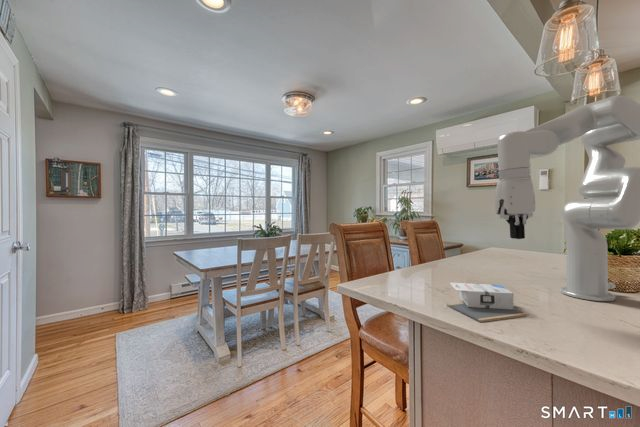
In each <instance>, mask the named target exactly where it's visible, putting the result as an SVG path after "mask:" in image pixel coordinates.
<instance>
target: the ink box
mask: <svg viewBox="0 0 640 427" xmlns="http://www.w3.org/2000/svg"><path fill="white" fill-rule="evenodd" d="M449 284H450V286H451V287H453V288H454V290H455V291H457V292H459V299H461V301H462V303H465V304H466V305H467V306H468V307H475V308H493V309H509V310H513V309H514V292H512V291H511V290H509V289H507V288H506V287H504V286H503V285H501V284H491V283H490V284H489V283H468V282H467V283H465V282H463V283H462V282H449Z"/></svg>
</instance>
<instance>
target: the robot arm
mask: <svg viewBox="0 0 640 427" xmlns="http://www.w3.org/2000/svg"><path fill="white" fill-rule="evenodd" d="M579 137H580V140H581V144H582V145H583V147H584V150H585V152H586V155H587V156H588V163H587V166H586V168H585V170H584V172H583V176H582V178H581V180H580V183H579V186H578V193H579V195H580V196H581V197H582V198H577V199H573V200H569V201H567V202H566V203H565V204H564V205H563V207H562V211H561V217H562V220H563V224H564V229H565V240H566V252H565V254H566V259H565V260H566V286H563V287H560V293H562V294H563V295H566V296H568V297H572V298H577V299H580V300H586V301H595V302H613V301H615V300H616V295H614V294H613V293H612V292H609V290H610V289H611V290H612V289H615V288H616V284H615V283H614V282H608V278H609V273H608V272H609V270H608V268H609V267H608V265H609V264H608V263H609V261H608V257H609V256H608V249H609V248H608V241H607V239H606V237H605V235H603V233H601V231H600V229H603V230H630V229H633V228H635V227H637V226H638V224H639V223H640V166H629V167H625V164H626V159H625V156H624V155H623V154H622V153H621V152H619V151H618V150H616V149H614V148H613V147H612V146H611V145H616V144H617V145H618V144H623V143H628V142H629V143H630V142H635V141H639V140H640V103H639V102H637V101H636V100H634V99H632V98H630V97H628V96H625V95H618V94H617V95H612V96H609V97H606V98H603V99H599V100H597V101H593V102H590V103H587V104H583V105H581V106H578V107H576V108H575V109H572V110H569V111H568V112H566V113H564V114H562V115H560V116H557V117H555V118H554V119H551V120H549V121H546V122H544V123H541V124H539V125H537V126H534V127H532V128H530V129H527V130H524V131H523V130H522V131H511V132H507V133H504V134H502V135H500V136H499V137H498V138H497V159H498V160H497V161H498V162H497V163H498V179H499V180H498V181H497V183H496V187H495V196H494V209H495V214H496V215H499V219H500V220H504V221H506V223H507V225H508V226H509V238H511V239H516V240H521V239H522V240H523V239H526V234H525V232H526V230H525V225H526V224H527V220H528V219H530V218H533V216H534V214H533V213H534V212H535V211H536V195H535V189H534V184H533V180H532V172H531V170H532V169H531V160H532V159H535V158H536V159H537V158H543V157H546V156H548V155H551V154H552V153H555V151H556V150H557V149H558V147H559V146H561V145H564V144H567V143H570V142H572V141H575V139H578V138H579Z"/></svg>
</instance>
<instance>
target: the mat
mask: <svg viewBox="0 0 640 427" xmlns="http://www.w3.org/2000/svg"><path fill="white" fill-rule="evenodd" d="M446 307H448V308H450V309H453V311H454V310H455V312H456V311H457V312H458V313H460V314H462V315H465V316H466V317H468V318H470V319H472V320H474V321H476V322H479V323H484V322H491V321H492V322H493V321H499V320H500V321H501V320H507V319H514V318H515V319H516V318H523V317H527V313H524V312H522V311H519V310H518V309H514V308H513V310H509V309H493V308H475V307H468V306H467V305H466V304H465V303H464V302H457V303H456V302H455V303H447V304H446Z"/></svg>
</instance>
